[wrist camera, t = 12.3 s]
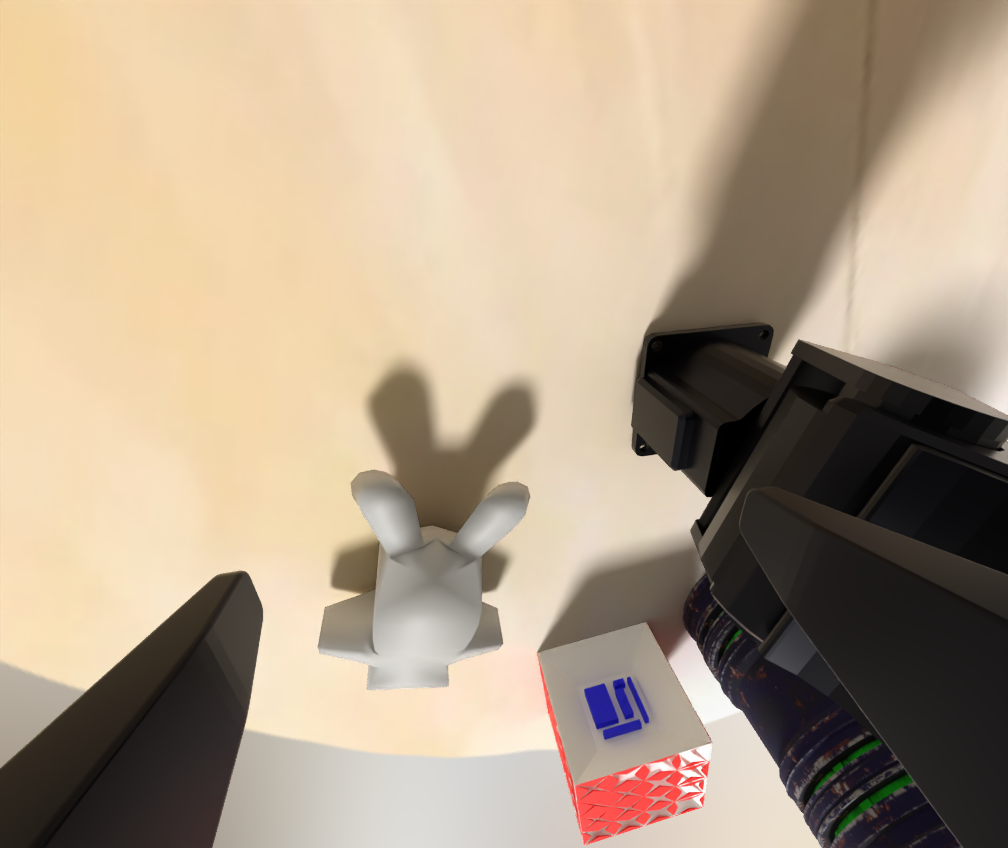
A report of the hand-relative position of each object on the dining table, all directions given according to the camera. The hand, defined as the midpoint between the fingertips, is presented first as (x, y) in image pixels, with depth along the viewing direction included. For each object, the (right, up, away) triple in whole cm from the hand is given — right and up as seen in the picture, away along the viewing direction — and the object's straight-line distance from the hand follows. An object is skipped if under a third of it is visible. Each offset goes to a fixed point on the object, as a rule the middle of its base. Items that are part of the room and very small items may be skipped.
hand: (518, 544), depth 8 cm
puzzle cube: (+6, -16, +25) cm, 30 cm away
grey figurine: (-5, -5, +17) cm, 19 cm away
